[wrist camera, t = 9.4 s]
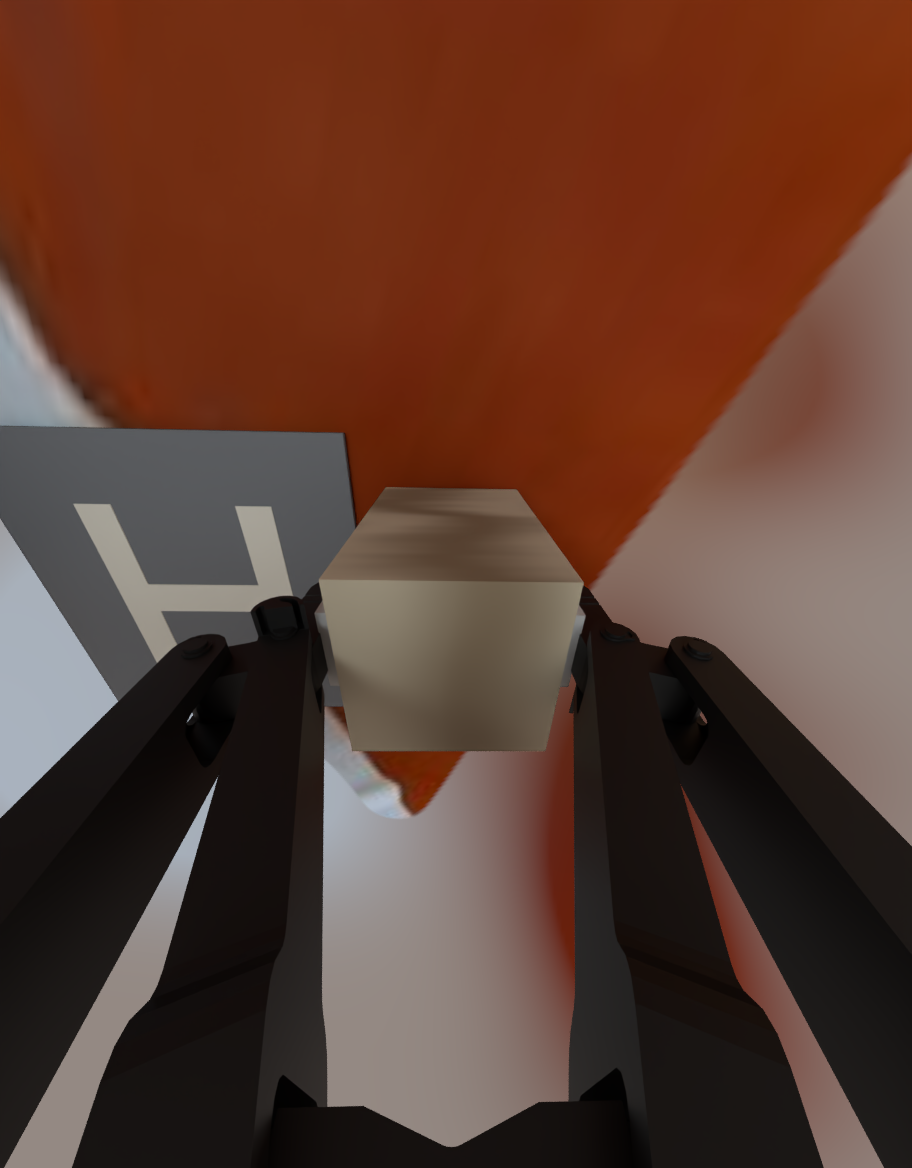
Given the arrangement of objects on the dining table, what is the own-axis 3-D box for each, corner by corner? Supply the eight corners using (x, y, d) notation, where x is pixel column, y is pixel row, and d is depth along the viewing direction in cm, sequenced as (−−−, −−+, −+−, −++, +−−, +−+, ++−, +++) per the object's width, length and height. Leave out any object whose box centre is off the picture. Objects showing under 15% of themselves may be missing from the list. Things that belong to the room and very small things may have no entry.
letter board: (124, 702, 24) (120, 706, 24) (-52, 424, 16) (-62, 425, 15) (378, 703, 25) (377, 707, 24) (344, 432, 16) (342, 433, 16)
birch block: (394, 599, 18) (352, 750, 10) (386, 487, 16) (318, 579, 8) (504, 600, 19) (545, 751, 11) (516, 489, 16) (583, 582, 8)
